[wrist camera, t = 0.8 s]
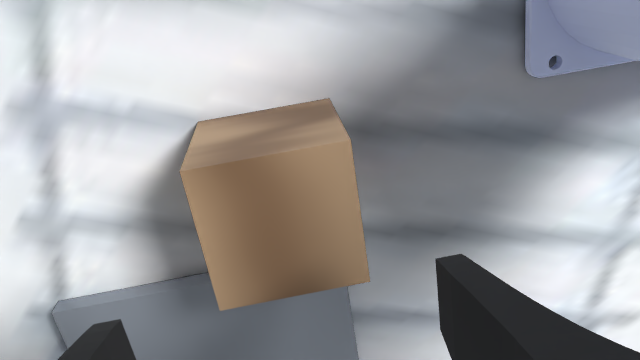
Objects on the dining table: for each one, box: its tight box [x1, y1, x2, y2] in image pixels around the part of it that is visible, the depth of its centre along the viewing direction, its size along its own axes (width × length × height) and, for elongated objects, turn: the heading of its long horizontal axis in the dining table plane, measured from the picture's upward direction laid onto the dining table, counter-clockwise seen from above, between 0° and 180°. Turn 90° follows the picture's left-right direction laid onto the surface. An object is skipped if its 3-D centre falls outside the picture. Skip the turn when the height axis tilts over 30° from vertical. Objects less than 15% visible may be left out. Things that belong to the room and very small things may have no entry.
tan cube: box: [180, 98, 370, 311], centre depth 18 cm, size 5×5×5 cm
